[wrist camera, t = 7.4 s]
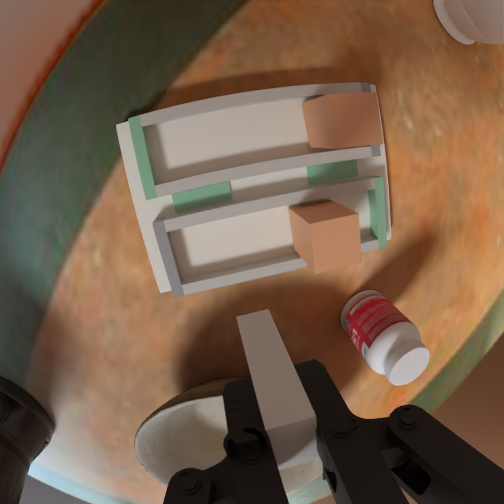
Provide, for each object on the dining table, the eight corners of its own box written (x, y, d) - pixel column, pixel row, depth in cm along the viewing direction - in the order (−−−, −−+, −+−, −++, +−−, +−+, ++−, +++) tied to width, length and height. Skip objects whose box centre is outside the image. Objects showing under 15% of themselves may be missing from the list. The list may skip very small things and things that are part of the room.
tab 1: (309, 147, 26) (336, 149, 20) (301, 103, 25) (327, 93, 19) (349, 142, 26) (383, 143, 21) (342, 100, 25) (375, 92, 19)
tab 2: (293, 248, 29) (315, 274, 23) (287, 207, 28) (309, 223, 22) (333, 239, 29) (361, 262, 24) (328, 199, 28) (358, 213, 22)
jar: (486, 57, 26) (569, 51, 12) (438, 46, 25) (533, 27, 11) (466, -7, 22) (540, -28, 8) (415, -25, 21) (493, -63, 7)
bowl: (117, 421, 36) (107, 477, 26) (197, 299, 31) (197, 361, 22) (253, 464, 43) (263, 512, 34) (352, 373, 38) (384, 424, 29)
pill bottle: (329, 312, 34) (373, 373, 24) (371, 278, 33) (427, 328, 23) (353, 341, 36) (395, 400, 26) (391, 310, 36) (441, 361, 25)
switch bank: (162, 286, 30) (158, 300, 27) (120, 125, 24) (111, 123, 22) (383, 235, 32) (398, 243, 29) (367, 86, 26) (383, 82, 23)
